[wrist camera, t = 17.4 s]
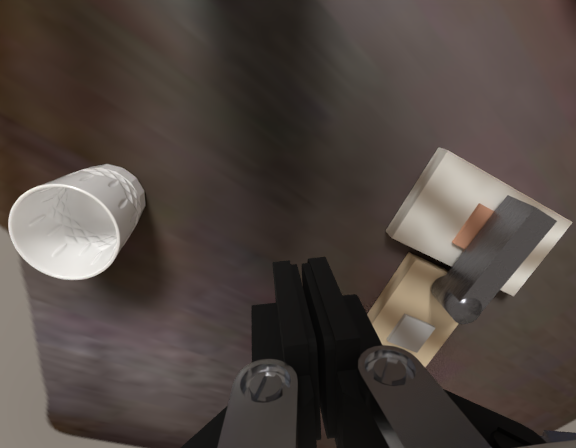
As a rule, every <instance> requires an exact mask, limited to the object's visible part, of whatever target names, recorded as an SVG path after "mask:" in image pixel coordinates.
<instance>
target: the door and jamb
mask: <svg viewBox="0 0 576 448" xmlns="http://www.w3.org/2000/svg"><path fill="white" fill-rule="evenodd" d="M507 195H509V196H511V197H513V198H516V199H518V200H520V201H523V202H525V203H527V204H530V205H532V206H534V207H536V208H538V209H539V210H541V211H542V212H544V213H546V214H547V215H549V216H550V217H552V218H553V219H555V220H556V221H557V222H556V223H555V225H554V226H553V227H552V228H551V229H550V231H549V232H548V233H547V234H546V235H545V237H544V238H543V239H542V240H541V241H540V243H539V244H538V245H537V246H536V247H535V249H534V250H533V251H532V252H531V253H530V255H529V256H528V257H527V258H526V259H525V260H524V262H523V263H522V264H521V265H520V266H519V268H518V269H517V270H516V271H515V272H514V274H513V275H512V276H511V277H510V278H509V280H508V281H507V282H506V283H505V284H504V286H503V287H502V288H501V289H500V290H502V291H504V292H506V293H508V294H510V295H512V296H514V295H515V294H516V293H517V291H518V290H519V289H520V288H521V286H522V285H523V284H524V283H525V281H526V280H527V279H528V278H529V276H530V275H531V274H532V273H533V271H534V270H535V269H536V268H537V266H538V265H539V264H540V263H541V261H542V260H543V259H544V258H545V256H546V255H547V254H548V253H549V251H550V250H551V249H552V248H553V246H554V245H555V244H556V243H557V241H558V240H559V239H560V238H561V236H562V235H563V234H564V233H565V231H566V230H567V229H568V228H569V226H570V225H571V224H572V223H573V222H571V221H569V220H568V219H566V218H564V217H562V216H561V215H559V214H557V213H556V212H554V211H552V210H550V209H549V208H547V207H545V206H543V205H542V204H540V203H538V202H536V201H535V200H533V199H531V198H530V197H528V196H526V195H524V194H523V193H521V192H519V191H517V190H516V189H514V188H512V187H510V186H509V185H507V184H505V183H504V182H502V181H500V180H498V179H497V178H495V177H493V176H491V175H490V174H488V173H486V172H484V171H483V170H481V169H479V168H478V167H476V166H474V165H472V164H471V163H469V162H467V161H465V160H464V159H462V158H460V157H458V156H457V155H455V154H453V153H452V152H450V151H448V150H445V149H442V148H439V147H438V149H437V150H436V152H435V154H434V155H433V157H432V158H431V160H430V161H429V163H428V165H427V166H426V168H425V169H424V171H423V172H422V174H421V176H420V177H419V179H418V180H417V182H416V184H415V185H414V187H413V188H412V190H411V191H410V193H409V195H408V196H407V198H406V199H405V201H404V202H403V204H402V206H401V207H400V209H399V210H398V212H397V213H396V215H395V217H394V218H393V220H392V221H391V223H390V225H389V226H388V228H387V229H386V232H387V233H388V235H389V236H390V237H391V238H393V239H395V240H397V241H399V242H401V243H403V244H405V245H407V246H409V247H412V248H414V249H416V250H418V251H420V252H422V253H424V254H426V255H428V256H430V257H432V258H435V259H437V260H439V261H441V262H443V263H445V264H447V265H449V266H451V267H452V266H453V265H454V264H455V262H456V261H457V260H458V259H459V257H460V256H461V255H462V253H463V252H464V251H465V249H466V248H467V247H468V246H469V244H470V243H471V242H472V240H473V239H474V238H475V237H476V235H477V234H478V233H479V231H480V230H481V229H482V227H483V226H484V225H485V224H486V222H487V221H488V220H489V218H490V217H491V216H492V214H493V213H494V212H495V211H496V209H497V208H498V207H499V205H500V204H501V203H502V202H503V200H504V199H505V198H506V196H507ZM447 273H448V270H446V269H444V268H442V267H440V266H438V265H436V264H434V263H432V262H429V261H427V260H425V259H423V258H421V257H419V256H417V255H415V254H412V253H410V252H408V254H407V255H406V257H405V258H404V260H403V261H402V263H401V264H400V266H399V267H398V269H397V270H396V272H395V273H394V275H393V276H392V278H391V279H390V281H389V282H388V284H387V285H386V287H385V288H384V290H383V291H382V293H381V294H380V296H379V297H378V299H377V300H376V302H375V303H374V305H373V306H372V308H371V309H370V311H369V312H368V314H367V315H368V317H369V319H370V321H371V323H372V325H373V327H374V329H375V331H376V333H377V335H378V337H379V339H380V341H381V343H382V345H388V346H395V347H398V348H402V349H404V350H406V351H408V352H410V353H411V354H413V355H414V356H415V357H416V358H417V359H418V360H419V361H420V362H421V364H422V365H423V366H424V367H426V366H427V364H428V363H429V362H430V360H431V359H432V358H433V357H434V355H435V354H436V353H437V351H438V350H439V349H440V347H441V346H442V345H443V343H444V342H445V341H446V340H447V338H448V337H449V336H450V334H451V333H452V332H453V330H454V329H455V328H456V326H457V325H458V324H459V323H457V322H455V321H454V319H453V318H452V317H451V316H450V315H449V314H448V312H447V311H446V310H445V309H444V308H443V307H442V305H441V304H440V303H439V302H438V301H437V300H436V299H435V297H434V296H433V295H432V293H431V287H432V285H433V283H434V282H435V280H436V279H438V278H439V277H441V276H445V275H446V274H447Z"/></svg>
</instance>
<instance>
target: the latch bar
mask: <svg viewBox="0 0 576 448" xmlns="http://www.w3.org/2000/svg"><path fill="white" fill-rule="evenodd" d="M556 222H557V221H556V220H555V219H553V218H552V217H550V216H549V215H547V214H546V213H544V212H542V211H541V210H539V209H538V208H536V207H534V206H532V205H530V204H527V203H525V202H523V201H520V200H518V199H516V198H513V197H511V196H509V195H507V196H506V198H505V199H504V200H503V202H502V203H501V204H500V205H499V207H498V208H497V209H496V211H495V212H494V213H493V214H492V216H491V217H490V218H489V220H488V221H487V222H486V224H485V225H484V226H483V227H482V229H481V230H480V231H479V233H478V234H477V235H476V237H475V238H474V239H473V240H472V242H471V243H470V244H469V246H468V247H467V248H466V249H465V251H464V252H463V253H462V255H461V256H460V257H459V259H458V260H457V261H456V262H455V264H454V265H453V266H452V268H451V269H450V270H449V271H448V273H447V274H446V275H445V276H441V277H439V278H438V279H436V280H435V282H434V283H433V285H432V287H431V293H432V295H433V296H434V297H435V299H436V300H437V301H438V302H439V303H440V304H441V305H442V307H443V308H444V309H445V310H446V311H447V312H448V314H449V315H450V316H451V317H452V318H453V319H454V321H455V322H457V323H459V324H468V323H471V322H473V321H474V320H476V319H477V318H478V317H479V315H480V314H481V312H482V311H483V310H484V308H485V307H486V306H487V305H488V304H489V302H490V301H491V300H492V299H493V298H494V296H495V295H496V294H497V293H498V292H499V290H500V289H501V288H502V287H503V286H504V284H505V283H506V282H507V281H508V280H509V278H510V277H511V276H512V275H513V274H514V272H515V271H516V270H517V269H518V268H519V266H520V265H521V264H522V263H523V262H524V260H525V259H526V258H527V257H528V256H529V255H530V253H531V252H532V251H533V250H534V249H535V247H536V246H537V245H538V244H539V243H540V241H541V240H542V239H543V238H544V237H545V235H546V234H547V233H548V232H549V231H550V229H551V228H552V227H553V226H554V225H555V223H556Z"/></svg>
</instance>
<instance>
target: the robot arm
mask: <svg viewBox="0 0 576 448" xmlns="http://www.w3.org/2000/svg"><path fill="white" fill-rule="evenodd" d="M273 274H274V285H275V296H276V303H270V304H261V305H252V363H250V364H248V365H247V366H245V367H244V368H242V370H241V371H240V372H239V373H238V374H237V376H236V378H235V380H234V382H233V386H232V390H231V394H230V398H229V403H228V406H227V407H226V408H225V409H223V410H222V411H221V412H220V413H219V414H218V415H217V416H216V417H215V418H213V419H212V420H211V421H210V422H209V423H208V424H207V425H206V426H204V427H203V428H202V429H201V430H200V431H199V432H198V433H197V434H195V435H194V436H193V437H192V438H191V439H190V440H189V441H188V442H187V443H185V444H184V445H183V446H182V447H181V448H317V445H316V440H321V423H320V408H321V413H322V418H323V422H324V427H325V432H326V436H327V438H328V439H329V438H335V442H336V446H337V448H576V433H571V432H559V431H546V430H544V432H543V435H542V436H539V435H538V434H536V433H535V432H534V431H533V430H531V429H529V428H527V427H525V426H524V425H522V424H520V423H518V422H515V421H513V420H511V419H509V418H507V417H504V416H502V415H500V414H498V413H495V412H493V411H491V410H489V409H487V408H484V407H482V406H480V405H478V404H475V403H473V402H471V401H469V400H467V399H464V398H462V397H460V396H458V395H455V394H453V393H451V392H449V391H447V390H444V389H442V387H441V386H440V385H439V384H438V383H437V381H436V380H435V379H434V378H433V377H432V375H431V374H430V373H429V372H428V371H427V370H426V368H425V367H424V366H423V365H422V364H421V362H420V361H419V360H418V359H417V358H416V357H415V356H414V355H413V354H411V353H410V352H408V351H406V350H404V349H402V348H398V347H395V346H388V345H382V343H381V341H380V339H379V337H378V335H377V333H376V331H375V329H374V327H373V325H372V323H371V321H370V319H369V317H368V315H367V313H366V311H365V309H364V307H363V306H362V304H361V302H360V300H359V298H358V296H357V295H356V294H353V295H344V296H342V294H341V292H340V290H339V287H338V285H337V283H336V280H335V278H334V276H333V273H332V271H331V269H330V266H329V264H328V262H327V260H326V258H325V257H320V258H310V259H308V263H305V264H302V282H303V286H302V283H301V279H300V275H299V271H298V267H297V264H295V265H291V264H290V261H280V262H273Z"/></svg>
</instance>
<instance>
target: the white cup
mask: <svg viewBox="0 0 576 448" xmlns="http://www.w3.org/2000/svg"><path fill="white" fill-rule="evenodd" d="M144 208H145V192H144V190H143V188H142V186H141V184H140V183H139V181H138V179H137V178H136V177H135V176H133V175H132V174H131V173H129V172H128V171H127V170H125V169H124V168H121V167H117V166H113V165H109V164H104V165H99V166H93V167H90V168H87V169H83V170H80V171H77V172H74V173H71V174H68V175H65V176H63V177H60V178H58V179H55V180H53V181H50V182H48V183H45V184H43V185H40V186H37V187H35V188H32V189H30V190H28V191H27V192H25V193H24V194H23V195H21V196H20V197H19V198H18V199H17V201H16V202H15V203H14V205H13V207H12V209H11V211H10V215H9V221H8V227H9V234H10V237H11V240H12V243H13V245H14V247H15V248H16V250H17V251H18V253H19V254H20V255H21V256H22V258H23V259H24V260H25V261H26V262H27V263H29V264H30V265H31V266H32V267H34V268H35V269H37V270H39V271H40V272H42V273H44V274H47V275H49V276H52V277H55V278H59V279H65V280H82V279H87V278H91V277H93V276H96V275H98V274H100V273H102V272H103V271H104V270H106V269H107V268H108V267H109V266H110V265H111V264H112V263H113V261H114V260H115V258H116V257H117V255H118V253H119V252H120V250H121V249H122V247H123V246H124V244H125V243H126V241H127V240H128V238H129V237H130V235H131V233H132V231H133V230H134V228H135V226H136V225H137V223H138V220H139V219H140V217H141V214H142V212H143V210H144Z"/></svg>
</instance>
